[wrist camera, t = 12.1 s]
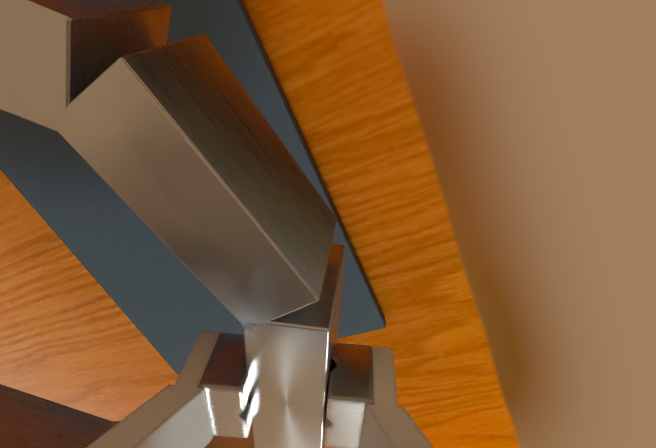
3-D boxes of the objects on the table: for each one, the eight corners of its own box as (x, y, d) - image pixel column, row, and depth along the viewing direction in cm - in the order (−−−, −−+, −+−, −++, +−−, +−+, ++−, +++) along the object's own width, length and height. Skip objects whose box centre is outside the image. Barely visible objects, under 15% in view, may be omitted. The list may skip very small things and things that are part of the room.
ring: (371, -85, 7) (363, -125, 4) (326, 478, 16) (314, 569, 14) (-485, -118, 8) (-873, -161, 6) (-65, 414, 18) (-140, 485, 15)
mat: (-161, -36, 15) (-179, -37, 15) (127, -256, 12) (115, -268, 11) (181, 367, 26) (177, 374, 26) (385, 320, 22) (386, 328, 22)
